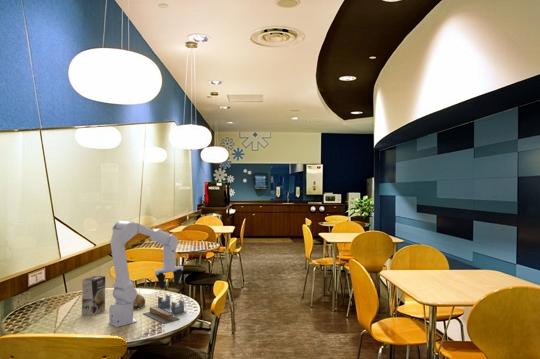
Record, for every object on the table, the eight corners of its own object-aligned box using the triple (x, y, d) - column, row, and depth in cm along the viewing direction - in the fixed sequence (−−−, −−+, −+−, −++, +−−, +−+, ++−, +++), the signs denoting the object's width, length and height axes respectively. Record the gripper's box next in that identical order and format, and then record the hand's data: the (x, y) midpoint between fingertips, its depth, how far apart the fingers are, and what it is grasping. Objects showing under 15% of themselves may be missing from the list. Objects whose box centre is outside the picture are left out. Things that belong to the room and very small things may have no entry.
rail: (168, 320, 177) (168, 315, 177) (149, 312, 188) (149, 307, 188) (172, 319, 179) (172, 314, 179) (154, 311, 190) (154, 306, 190)
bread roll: (146, 312, 201) (149, 296, 204) (139, 309, 192) (142, 292, 195) (127, 311, 202) (130, 295, 205) (119, 308, 193) (122, 291, 196)
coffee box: (93, 315, 184) (94, 280, 184) (81, 314, 185) (81, 279, 186) (105, 309, 193) (106, 275, 193) (93, 308, 194) (94, 275, 195)
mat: (163, 324, 174) (163, 323, 174) (143, 314, 187) (143, 313, 187) (179, 319, 180) (179, 318, 180) (158, 310, 192) (158, 309, 192)
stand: (175, 315, 185) (175, 303, 185) (156, 307, 197) (156, 296, 197) (186, 312, 189) (186, 301, 190) (166, 304, 201) (166, 293, 201)
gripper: (177, 256, 204) (177, 283, 203) (151, 259, 193) (151, 288, 193) (185, 258, 199) (185, 285, 198) (159, 262, 188) (159, 291, 188)
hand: (169, 287), depth 195 cm, fingers open, 7 cm apart
